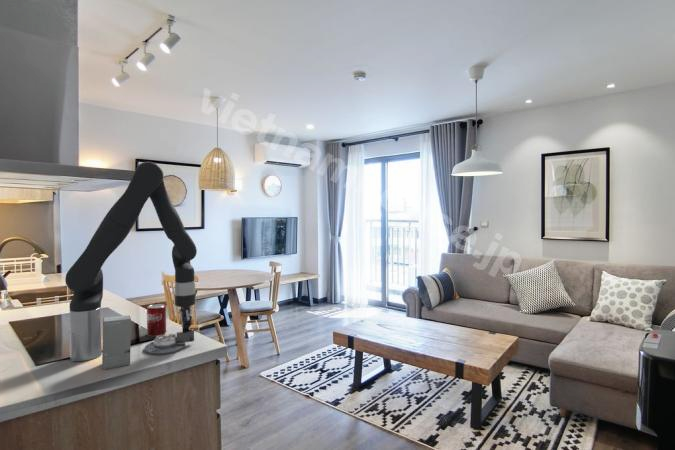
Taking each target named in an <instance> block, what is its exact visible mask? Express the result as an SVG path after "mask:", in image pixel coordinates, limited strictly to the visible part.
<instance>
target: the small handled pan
mask: <svg viewBox="0 0 675 450" xmlns="http://www.w3.org/2000/svg"><path fill="white" fill-rule="evenodd" d="M153 342H154V347H155V348H159V349H163V348H169V347H173V346H175V345H176V344H177V343H184V342H185V343H190V342H195V329H194V328H189V331H185V332H182V331H178V332H176V333H169V334H168V335H158V336H156V337H154V339H153Z"/></svg>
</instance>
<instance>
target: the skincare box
mask: <svg viewBox="0 0 675 450" xmlns="http://www.w3.org/2000/svg"><path fill="white" fill-rule="evenodd" d="M131 329H132V318H131V315H120V316H119V315H118V316H117V315H116V316H109V317H108V316H107V317H103V318H102V354H101V361H102V363H101V364H102V365H101V366H102V370H108V369H114V368H119V367H123V366H124V367H125V366H130V365H131V344H132V343H131V341H132V340H131V337H132V336H131V333H132V332H131V331H132V330H131Z"/></svg>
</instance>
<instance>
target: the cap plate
mask: <svg viewBox="0 0 675 450" xmlns="http://www.w3.org/2000/svg"><path fill="white" fill-rule="evenodd" d="M185 348H186V342H184V343H177V344H176V345H175V346H173V347H169V348H163V349H159V348H155V347H154V341H152V342H149V343H147V344H146V345H145V346H144V353H145V354H147V355H149V356H163V355H170V354H174V353H178V352H180V351H182V350H183V349H185Z"/></svg>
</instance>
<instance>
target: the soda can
mask: <svg viewBox="0 0 675 450" xmlns="http://www.w3.org/2000/svg"><path fill="white" fill-rule="evenodd" d="M166 333H167V306H166V304H163V303H157V304H150V305H148V306H147V307H146V334H147V336H148V337H150V336H151V338H152V337H153V338H156V337H155V336H158V335H163V336H165V334H166Z"/></svg>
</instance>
